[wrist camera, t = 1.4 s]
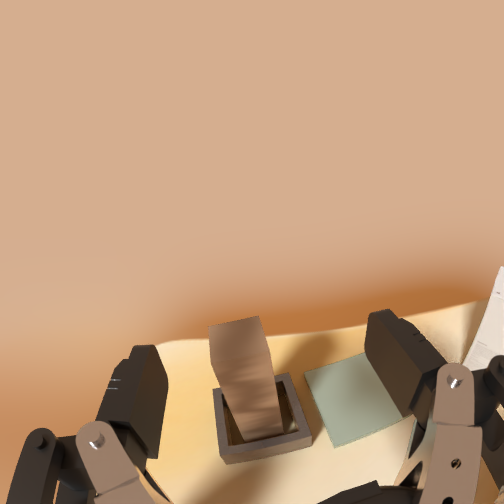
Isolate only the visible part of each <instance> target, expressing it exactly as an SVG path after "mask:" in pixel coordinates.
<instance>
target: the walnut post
mask: <svg viewBox="0 0 504 504" xmlns="http://www.w3.org/2000/svg"><path fill="white" fill-rule="evenodd" d="M208 329H209V345H210V358H211V365H212V367H213V370H214V372H215V375H216V377H217V380H218V382H219V385H220V387H221V389H222V392H223V394H224V397H225V399H226V401H227V404H228V406H229V408H230V411H231V413H232V415H233V417H234V420H235V422H236V424H237V426H238V428H239V431H240V433H241V435H242V437H243V439H244V441H245V443H250V442H255V441H260V440H265V439H269V438H273V437H278V436H282V435H284V431H283V425H282V419H281V413H280V408H279V402H278V396H277V390H276V385H275V379H274V373H273V367H272V361H271V356H270V350H269V347H268V344H267V341H266V338H265V334H264V331H263V328H262V325H261V322H260V319H259V316H255V317H250V318H246V319H241V320H237V321H232V322H227V323H222V324H218V325H213V326H209V327H208Z"/></svg>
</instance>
